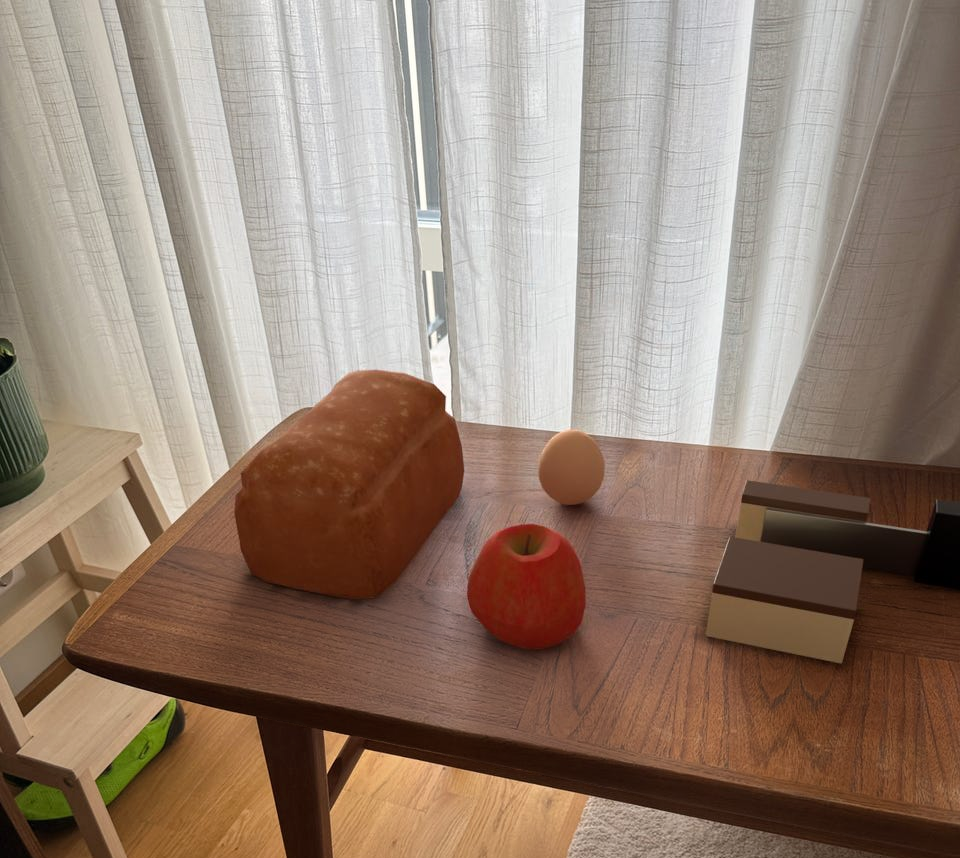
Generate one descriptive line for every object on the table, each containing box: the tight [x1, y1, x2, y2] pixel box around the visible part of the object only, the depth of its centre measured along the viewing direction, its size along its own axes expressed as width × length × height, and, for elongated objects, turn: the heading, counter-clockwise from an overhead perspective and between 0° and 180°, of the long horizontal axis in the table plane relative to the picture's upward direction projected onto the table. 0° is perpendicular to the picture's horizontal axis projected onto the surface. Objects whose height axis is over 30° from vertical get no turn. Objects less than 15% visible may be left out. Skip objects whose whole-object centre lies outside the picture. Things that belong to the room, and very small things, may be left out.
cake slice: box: [734, 479, 871, 542], centre depth 93 cm, size 12×3×6 cm, turn 69°
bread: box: [233, 369, 465, 600], centre depth 96 cm, size 17×24×15 cm
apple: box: [466, 523, 587, 650], centre depth 84 cm, size 11×11×11 cm
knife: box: [760, 498, 960, 590], centre depth 89 cm, size 22×2×8 cm, turn 70°
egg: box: [537, 429, 606, 506], centre depth 101 cm, size 7×7×8 cm
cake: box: [705, 536, 864, 664], centre depth 84 cm, size 12×8×6 cm, turn 68°
